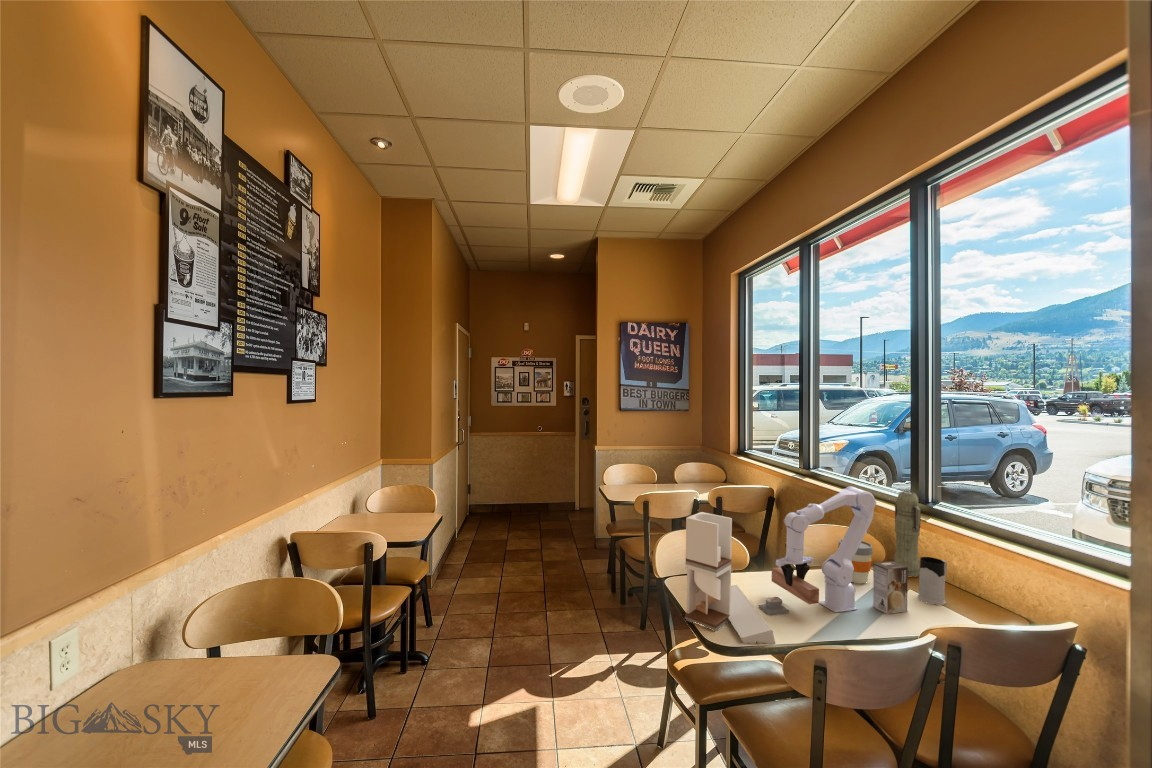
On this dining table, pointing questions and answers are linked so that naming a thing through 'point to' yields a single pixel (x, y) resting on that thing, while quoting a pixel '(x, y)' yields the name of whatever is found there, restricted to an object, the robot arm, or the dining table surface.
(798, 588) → the mahogany rod
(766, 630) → the decorative molding
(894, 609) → the coffee box
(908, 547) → the thermos
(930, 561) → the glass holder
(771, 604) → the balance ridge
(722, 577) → the white tower model
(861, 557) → the reusable coffee cup
